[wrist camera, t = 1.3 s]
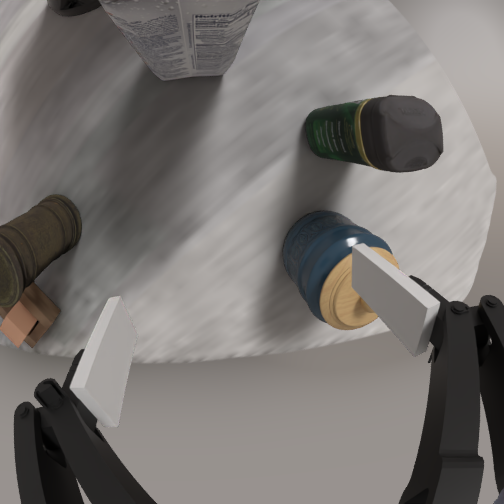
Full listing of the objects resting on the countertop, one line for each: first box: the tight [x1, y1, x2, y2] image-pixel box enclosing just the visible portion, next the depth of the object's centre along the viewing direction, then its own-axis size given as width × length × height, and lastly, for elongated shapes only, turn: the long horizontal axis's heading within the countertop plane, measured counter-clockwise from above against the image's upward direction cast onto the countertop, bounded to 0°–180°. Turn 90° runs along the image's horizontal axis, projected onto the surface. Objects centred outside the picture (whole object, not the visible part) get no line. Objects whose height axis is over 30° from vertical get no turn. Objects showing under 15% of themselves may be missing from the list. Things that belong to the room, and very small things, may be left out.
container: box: [0, 195, 82, 307], centre depth 26 cm, size 9×9×18 cm
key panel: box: [0, 282, 61, 348], centre depth 33 cm, size 26×11×4 cm, turn 36°
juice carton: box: [99, 0, 260, 81], centre depth 17 cm, size 9×10×27 cm
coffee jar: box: [306, 95, 443, 173], centre depth 28 cm, size 10×8×19 cm
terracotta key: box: [0, 301, 37, 348], centre depth 33 cm, size 5×5×6 cm
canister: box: [283, 211, 399, 330], centre depth 35 cm, size 13×13×18 cm
